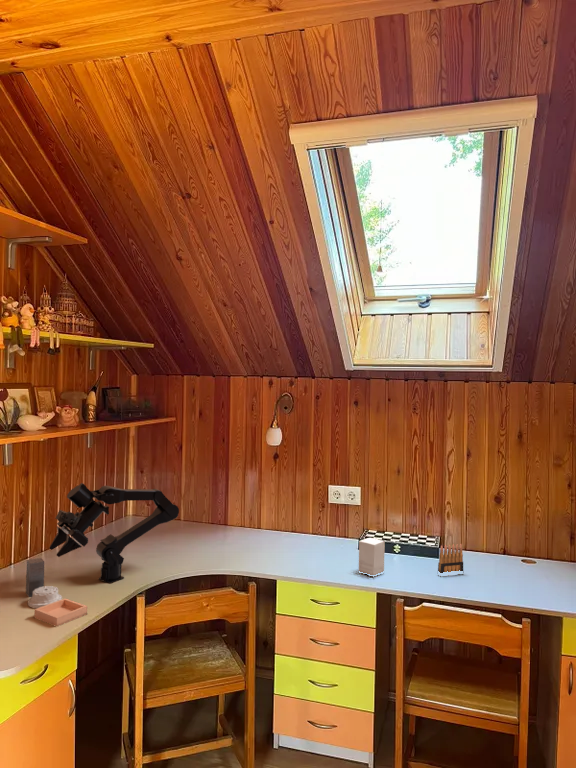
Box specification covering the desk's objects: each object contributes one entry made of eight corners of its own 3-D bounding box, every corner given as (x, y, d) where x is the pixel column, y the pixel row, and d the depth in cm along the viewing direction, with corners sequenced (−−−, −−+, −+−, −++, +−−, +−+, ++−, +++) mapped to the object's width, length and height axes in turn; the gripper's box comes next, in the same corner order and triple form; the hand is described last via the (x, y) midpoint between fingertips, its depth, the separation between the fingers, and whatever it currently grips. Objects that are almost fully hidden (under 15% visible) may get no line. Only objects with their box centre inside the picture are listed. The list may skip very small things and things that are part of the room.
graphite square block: (40, 590, 188) (41, 557, 188) (43, 594, 185) (44, 561, 185) (25, 592, 186) (26, 560, 186) (28, 597, 182) (29, 563, 182)
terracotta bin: (64, 606, 176) (65, 598, 176) (87, 614, 170) (87, 606, 170) (34, 617, 167) (34, 609, 167) (56, 626, 161) (57, 618, 161)
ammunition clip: (460, 573, 219) (461, 542, 219) (463, 574, 217) (464, 544, 217) (437, 575, 216) (438, 544, 215) (440, 577, 214) (441, 545, 214)
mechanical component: (24, 601, 179) (31, 612, 171) (25, 587, 179) (32, 597, 171) (57, 595, 185) (65, 605, 177) (57, 581, 185) (65, 591, 177)
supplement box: (384, 573, 216) (385, 541, 216) (373, 578, 210) (374, 544, 210) (369, 568, 221) (370, 537, 221) (357, 573, 216) (358, 540, 215)
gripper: (64, 496, 199) (29, 531, 193) (79, 506, 184) (43, 545, 178) (85, 516, 204) (53, 550, 197) (102, 527, 189) (67, 565, 182)
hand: (53, 552), depth 189 cm, fingers open, 9 cm apart
